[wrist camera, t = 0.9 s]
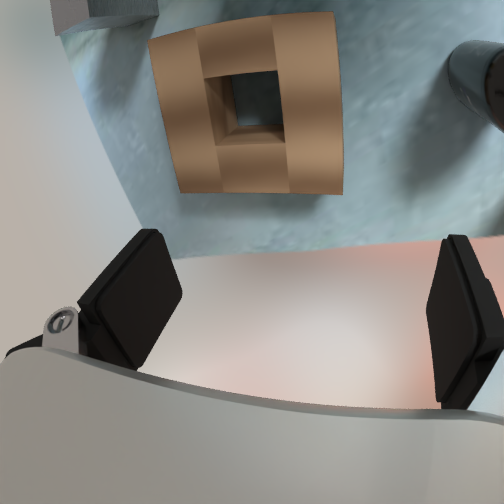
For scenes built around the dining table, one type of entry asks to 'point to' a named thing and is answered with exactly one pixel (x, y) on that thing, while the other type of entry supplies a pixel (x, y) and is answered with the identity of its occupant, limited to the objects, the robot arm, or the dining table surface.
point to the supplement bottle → (480, 79)
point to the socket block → (224, 112)
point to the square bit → (99, 14)
